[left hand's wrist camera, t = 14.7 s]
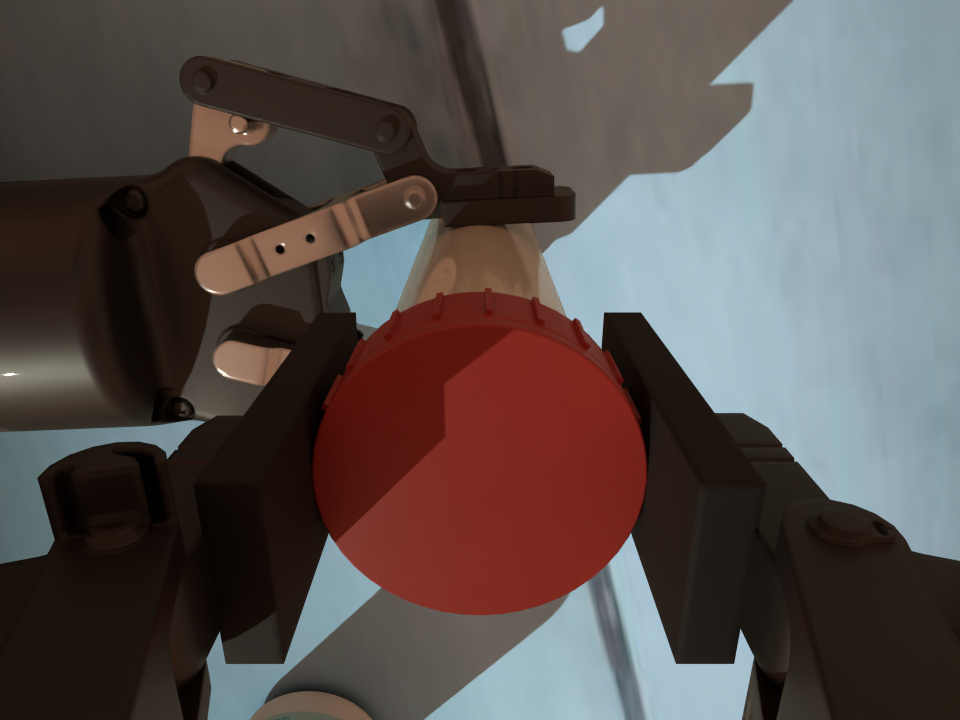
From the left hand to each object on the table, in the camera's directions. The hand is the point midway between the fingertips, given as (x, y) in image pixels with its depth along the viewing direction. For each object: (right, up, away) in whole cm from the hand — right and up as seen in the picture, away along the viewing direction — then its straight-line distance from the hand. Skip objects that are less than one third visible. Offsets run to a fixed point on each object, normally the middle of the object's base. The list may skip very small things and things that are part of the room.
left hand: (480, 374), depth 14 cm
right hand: (+3, +3, +6) cm, 7 cm away
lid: (0, -1, -4) cm, 4 cm away
